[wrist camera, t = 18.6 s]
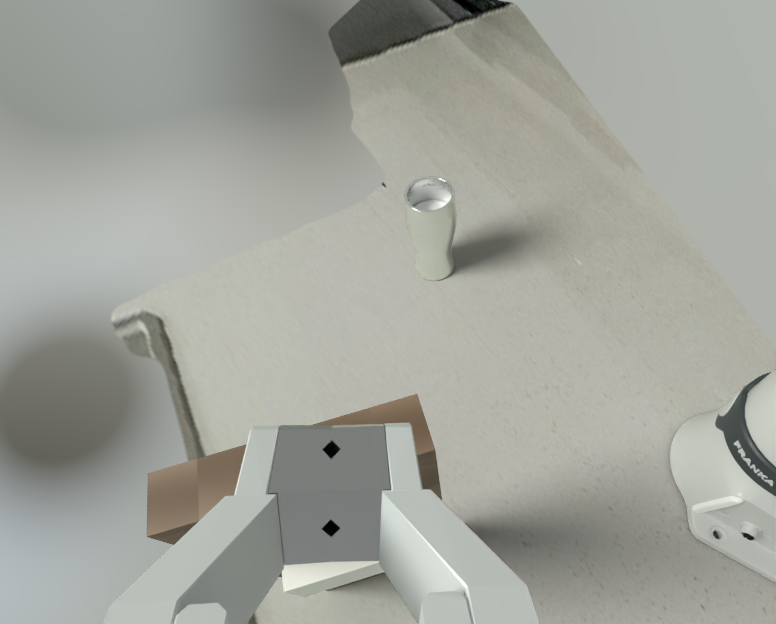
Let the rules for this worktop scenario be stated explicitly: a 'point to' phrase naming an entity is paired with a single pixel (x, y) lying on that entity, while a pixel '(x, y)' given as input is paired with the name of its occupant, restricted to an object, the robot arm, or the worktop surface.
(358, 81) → the worktop surface
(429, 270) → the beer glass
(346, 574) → the cream key
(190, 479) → the key panel
